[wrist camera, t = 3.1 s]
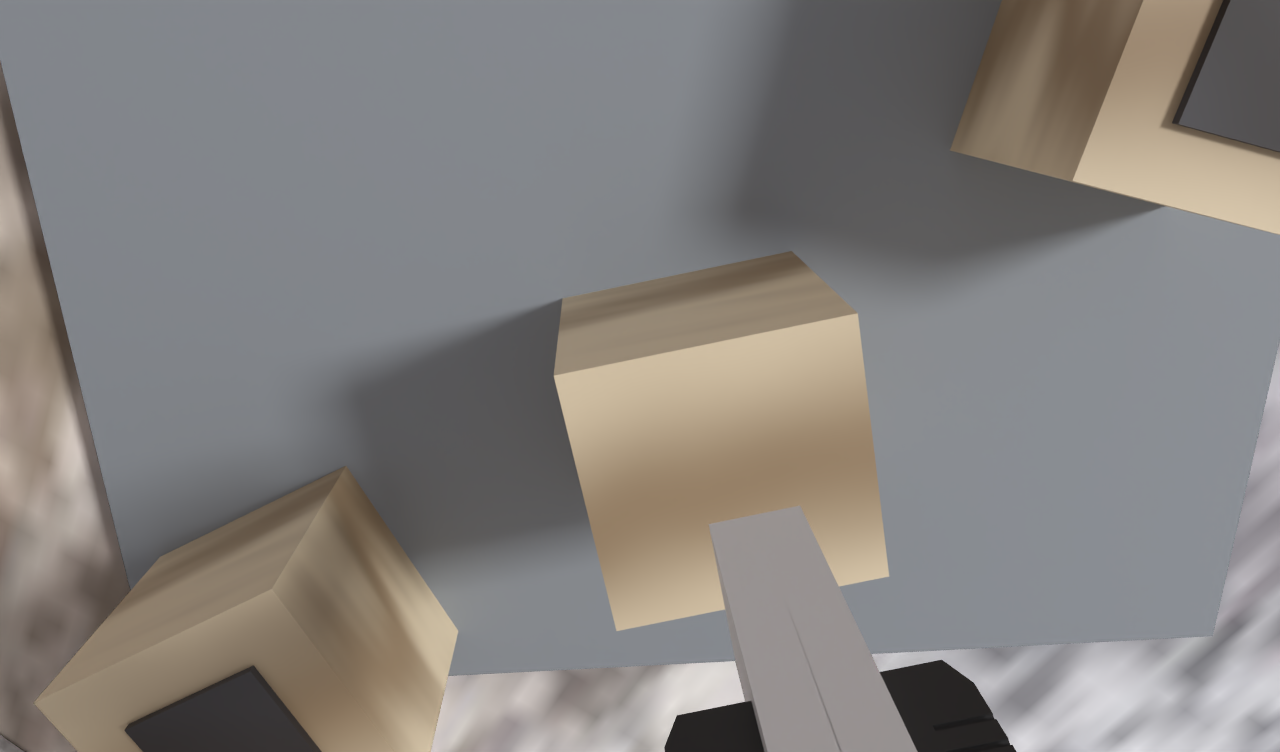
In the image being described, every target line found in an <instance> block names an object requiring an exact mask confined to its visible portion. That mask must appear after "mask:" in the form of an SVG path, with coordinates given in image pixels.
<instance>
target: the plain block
mask: <svg viewBox="0 0 1280 752" xmlns="http://www.w3.org/2000/svg"><path fill="white" fill-rule="evenodd" d="M554 379H555V383H556V388H557V392H558V396H559V400H560V404H561V408H562V412H563V416H564V420H565V424H566V428H567V432H568V436H569V440H570V444H571V448H572V452H573V456H574V461H575V465H576V469H577V473H578V477H579V481H580V485H581V489H582V493H583V497H584V501H585V505H586V509H587V513H588V517H589V521H590V525H591V530H592V534H593V538H594V542H595V546H596V550H597V554H598V558H599V562H600V566H601V570H602V574H603V578H604V582H605V586H606V590H607V594H608V598H609V603H610V607H611V611H612V615H613V619H614V623H615V627H616V631H620V630H625V629H630V628H635V627H640V626H645V625H650V624H655V623H660V622H665V621H670V620H675V619H680V618H685V617H690V616H695V615H700V614H705V613H710V612H715V611H720V610H725V605H724V600H723V595H722V590H721V585H720V580H719V575H718V570H717V565H716V559H715V554H714V549H713V544H712V539H711V534H710V529H709V524H712V523H717V522H722V521H727V520H732V519H737V518H742V517H746V516H751V515H756V514H761V513H766V512H771V511H776V510H781V509H786V508H791V507H796V506H801V508H802V511H803V513H804V515H805V517H806V519H807V521H808V523H809V525H810V527H811V529H812V532H813V534H814V536H815V538H816V540H817V542H818V544H819V546H820V548H821V550H822V553H823V555H824V557H825V559H826V561H827V563H828V565H829V567H830V569H831V571H832V574H833V576H834V578H835V580H836V582H837V584H838V586H844V585H849V584H854V583H859V582H864V581H869V580H874V579H879V578H884V577H889V570H888V562H887V553H886V545H885V537H884V528H883V520H882V512H881V503H880V495H879V487H878V478H877V470H876V461H875V453H874V445H873V436H872V428H871V420H870V411H869V403H868V395H867V386H866V378H865V369H864V361H863V353H862V344H861V336H860V328H859V319H858V313H857V312H856V311H855V310H854V309H853V308H852V307H851V306H850V305H849V304H847V303H846V302H845V301H844V300H843V299H842V298H841V297H840V296H839V295H838V294H837V293H836V292H835V291H834V290H833V289H832V288H830V287H829V286H828V285H827V284H826V283H825V282H824V281H823V280H822V279H821V278H820V277H819V276H818V275H817V274H816V273H815V272H813V271H812V270H811V269H810V268H809V267H808V266H807V265H806V264H805V263H804V262H803V261H802V260H801V259H800V258H799V257H798V256H796V255H795V254H794V253H793V252H792V251H789V252H784V253H779V254H775V255H770V256H765V257H760V258H755V259H750V260H746V261H741V262H736V263H731V264H726V265H721V266H717V267H712V268H707V269H702V270H697V271H693V272H688V273H683V274H678V275H673V276H668V277H664V278H659V279H654V280H649V281H644V282H639V283H635V284H630V285H625V286H620V287H615V288H610V289H606V290H601V291H596V292H591V293H586V294H581V295H577V296H572V297H567V298H563V299H562V307H561V316H560V325H559V333H558V342H557V351H556V359H555V368H554Z"/></svg>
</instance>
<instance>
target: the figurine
mask: <svg viewBox="0 0 1280 752" xmlns="http://www.w3.org/2000/svg"><path fill="white" fill-rule="evenodd" d="M0 752H24V751H23V750H21V749H20V748H18V747H17V746H15V745H14V744H12V743H11V742H10V741H8V740H7V739H5V738H4V737H3V736H1V735H0Z"/></svg>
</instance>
